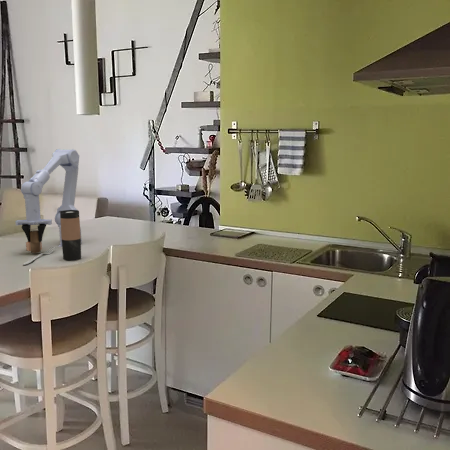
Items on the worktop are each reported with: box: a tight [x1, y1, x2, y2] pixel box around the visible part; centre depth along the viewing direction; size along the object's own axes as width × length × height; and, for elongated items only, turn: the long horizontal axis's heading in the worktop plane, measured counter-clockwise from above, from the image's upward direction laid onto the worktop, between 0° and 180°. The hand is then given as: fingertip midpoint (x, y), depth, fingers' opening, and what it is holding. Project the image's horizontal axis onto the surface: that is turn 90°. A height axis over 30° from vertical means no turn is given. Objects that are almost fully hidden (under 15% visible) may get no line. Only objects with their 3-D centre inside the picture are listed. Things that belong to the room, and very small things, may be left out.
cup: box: [25, 240, 43, 252], centre depth 237 cm, size 6×6×4 cm
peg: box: [30, 229, 42, 254], centre depth 228 cm, size 4×4×9 cm
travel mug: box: [60, 209, 82, 262], centre depth 220 cm, size 8×8×20 cm
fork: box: [22, 246, 56, 266], centre depth 223 cm, size 3×24×2 cm, turn 170°
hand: (35, 241), depth 228 cm, fingers closed on peg, 4 cm apart
